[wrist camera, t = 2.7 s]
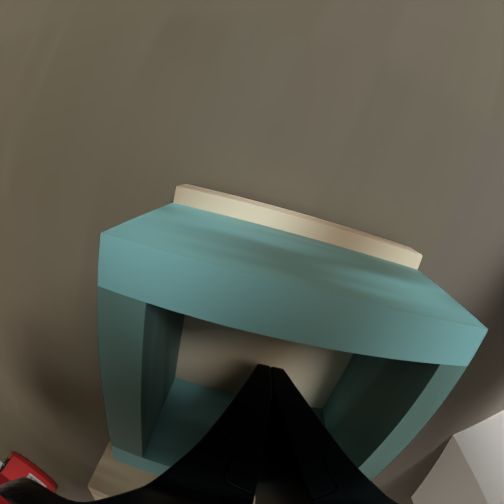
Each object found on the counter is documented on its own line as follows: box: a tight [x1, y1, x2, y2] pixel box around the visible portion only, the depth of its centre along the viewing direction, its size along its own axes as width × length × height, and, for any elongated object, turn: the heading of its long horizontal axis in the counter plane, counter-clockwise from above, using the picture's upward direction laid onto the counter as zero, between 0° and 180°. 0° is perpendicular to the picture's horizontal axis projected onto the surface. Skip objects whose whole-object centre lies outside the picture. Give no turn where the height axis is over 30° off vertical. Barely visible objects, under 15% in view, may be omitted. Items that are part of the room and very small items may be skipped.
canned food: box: [0, 452, 57, 504], centre depth 15 cm, size 8×8×11 cm
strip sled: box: [88, 184, 488, 504], centre depth 10 cm, size 12×25×5 cm, turn 166°
